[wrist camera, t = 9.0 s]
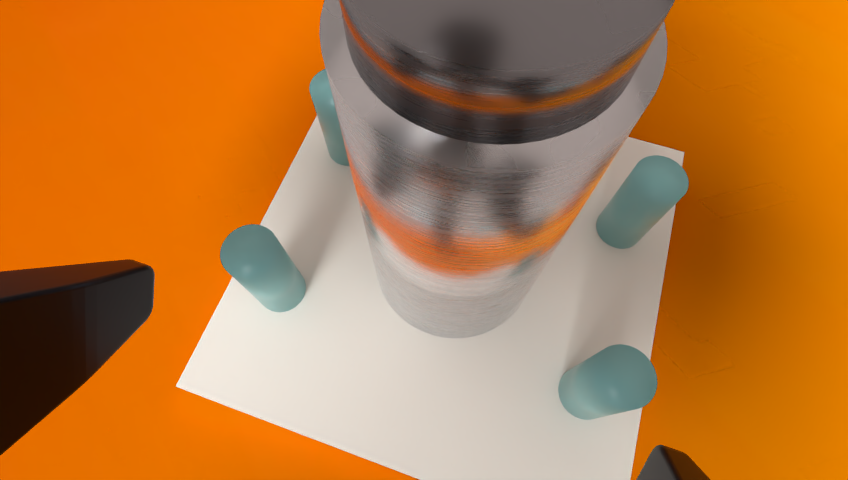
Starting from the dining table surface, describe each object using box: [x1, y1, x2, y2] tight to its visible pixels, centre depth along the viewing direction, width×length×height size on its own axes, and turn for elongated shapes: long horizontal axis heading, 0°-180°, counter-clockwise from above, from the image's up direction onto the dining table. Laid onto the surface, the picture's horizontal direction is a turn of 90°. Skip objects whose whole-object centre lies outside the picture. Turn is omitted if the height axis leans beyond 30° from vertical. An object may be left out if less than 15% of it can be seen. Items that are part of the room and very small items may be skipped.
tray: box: [176, 69, 689, 480], centre depth 16 cm, size 14×14×4 cm
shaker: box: [320, 0, 675, 338], centre depth 12 cm, size 5×5×12 cm
